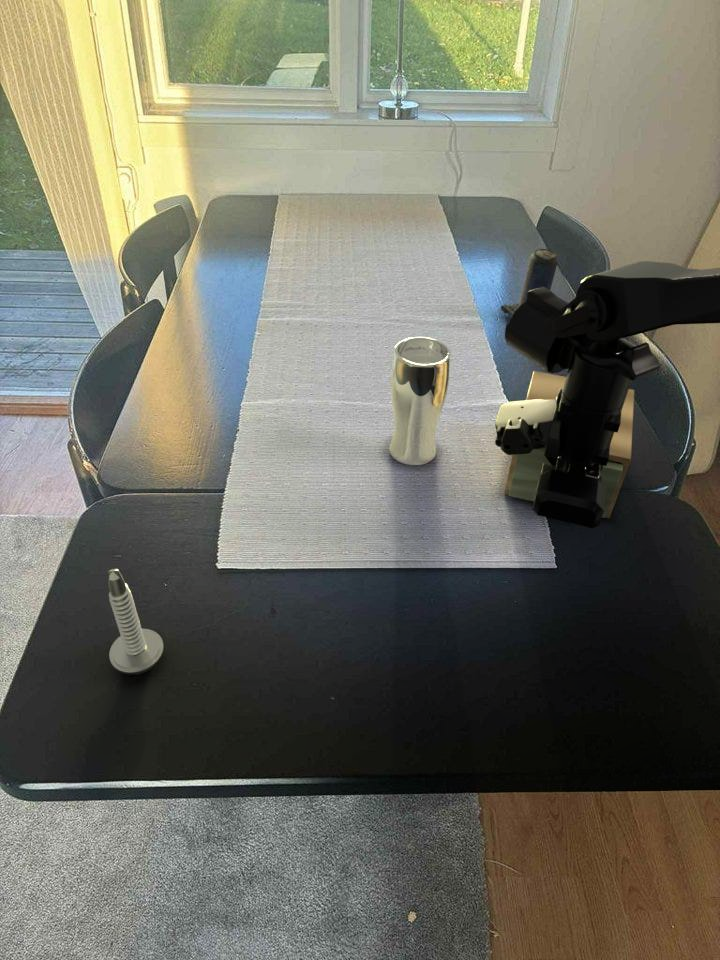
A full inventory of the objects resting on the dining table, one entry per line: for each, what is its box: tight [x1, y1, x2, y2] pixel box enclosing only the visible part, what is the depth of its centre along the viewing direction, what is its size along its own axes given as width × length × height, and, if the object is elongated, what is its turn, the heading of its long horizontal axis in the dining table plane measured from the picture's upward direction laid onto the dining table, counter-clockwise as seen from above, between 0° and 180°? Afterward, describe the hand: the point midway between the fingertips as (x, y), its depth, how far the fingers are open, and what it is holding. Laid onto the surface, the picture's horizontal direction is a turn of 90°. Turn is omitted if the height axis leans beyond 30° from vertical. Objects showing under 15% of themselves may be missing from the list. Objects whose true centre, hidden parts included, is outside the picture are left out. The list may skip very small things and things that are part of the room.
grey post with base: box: [500, 248, 559, 317], centre depth 116 cm, size 9×8×12 cm
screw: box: [107, 568, 165, 676], centre depth 62 cm, size 13×5×5 cm
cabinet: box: [503, 370, 635, 519], centre depth 87 cm, size 15×13×9 cm
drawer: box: [508, 446, 623, 519], centre depth 84 cm, size 18×11×7 cm, turn 162°
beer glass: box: [389, 336, 452, 466], centre depth 87 cm, size 7×7×15 cm
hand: (558, 514), depth 77 cm, fingers closed
